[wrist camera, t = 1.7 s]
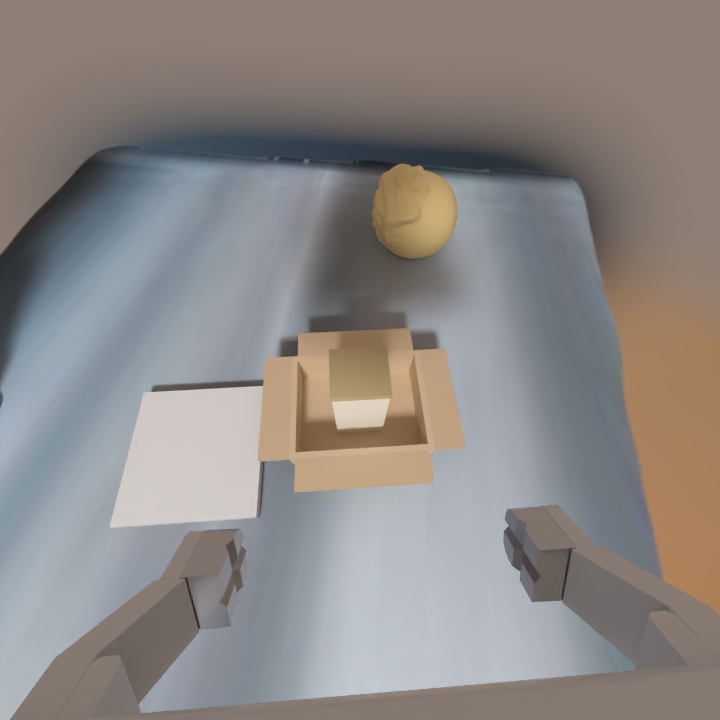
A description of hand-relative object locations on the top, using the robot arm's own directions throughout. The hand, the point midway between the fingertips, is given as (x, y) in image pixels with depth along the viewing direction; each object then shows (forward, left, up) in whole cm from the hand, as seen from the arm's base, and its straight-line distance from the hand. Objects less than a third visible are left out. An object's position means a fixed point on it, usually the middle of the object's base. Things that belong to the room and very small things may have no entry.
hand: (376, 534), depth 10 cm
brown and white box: (-11, +7, -25) cm, 28 cm away
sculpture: (-30, +29, -26) cm, 49 cm away
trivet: (-17, -10, -26) cm, 32 cm away
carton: (-11, +7, -26) cm, 29 cm away
